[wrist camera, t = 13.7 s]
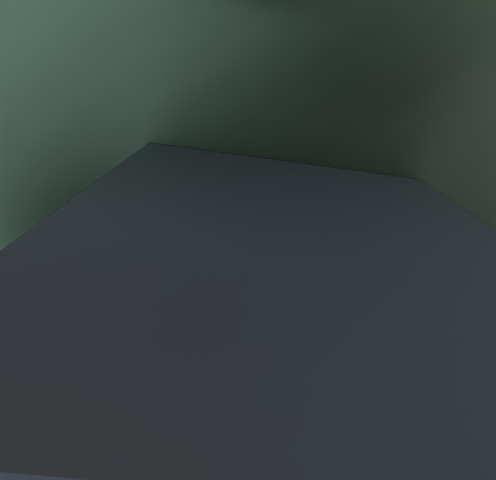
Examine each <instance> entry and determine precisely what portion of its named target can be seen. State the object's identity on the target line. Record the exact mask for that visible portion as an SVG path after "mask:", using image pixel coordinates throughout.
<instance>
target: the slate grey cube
mask: <svg viewBox="0 0 496 480" xmlns="http://www.w3.org/2000/svg"><path fill="white" fill-rule="evenodd" d="M0 480H496V230H495V229H493V228H492V227H490V226H489V225H487V224H486V223H484V222H483V221H481V220H480V219H478V218H477V217H475V216H474V215H472V214H471V213H469V212H468V211H466V210H465V209H463V208H462V207H460V206H459V205H457V204H456V203H454V202H453V201H451V200H450V199H448V198H447V197H445V196H444V195H442V194H441V193H439V192H438V191H436V190H435V189H433V188H432V187H430V186H429V185H427V184H426V183H424V182H423V181H421V180H420V179H413V178H406V177H398V176H391V175H384V174H376V173H369V172H362V171H354V170H347V169H339V168H332V167H325V166H317V165H310V164H303V163H295V162H288V161H280V160H273V159H266V158H258V157H251V156H244V155H236V154H229V153H221V152H214V151H207V150H199V149H192V148H184V147H177V146H170V145H162V144H155V143H148V144H147V145H145V146H144V147H143V148H141V149H140V150H139V151H137V152H136V153H134V154H133V155H132V156H130V157H129V158H128V159H126V160H125V161H123V162H122V163H121V164H119V165H118V166H117V167H115V168H114V169H112V170H111V171H110V172H108V173H107V174H106V175H104V176H103V177H101V178H100V179H99V180H97V181H96V182H95V183H93V184H92V185H90V186H89V187H88V188H86V189H85V190H84V191H82V192H81V193H79V194H78V195H77V196H75V197H74V198H73V199H71V200H70V201H68V202H67V203H66V204H64V205H63V206H62V207H60V208H59V209H57V210H56V211H55V212H53V213H52V214H51V215H49V216H48V217H46V218H45V219H44V220H42V221H41V222H40V223H38V224H37V225H35V226H34V227H33V228H31V229H30V230H29V231H27V232H26V233H24V234H23V235H22V236H20V237H19V238H18V239H16V240H15V241H13V242H12V243H11V244H9V245H8V246H7V247H5V248H4V249H2V250H1V251H0Z"/></svg>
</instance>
